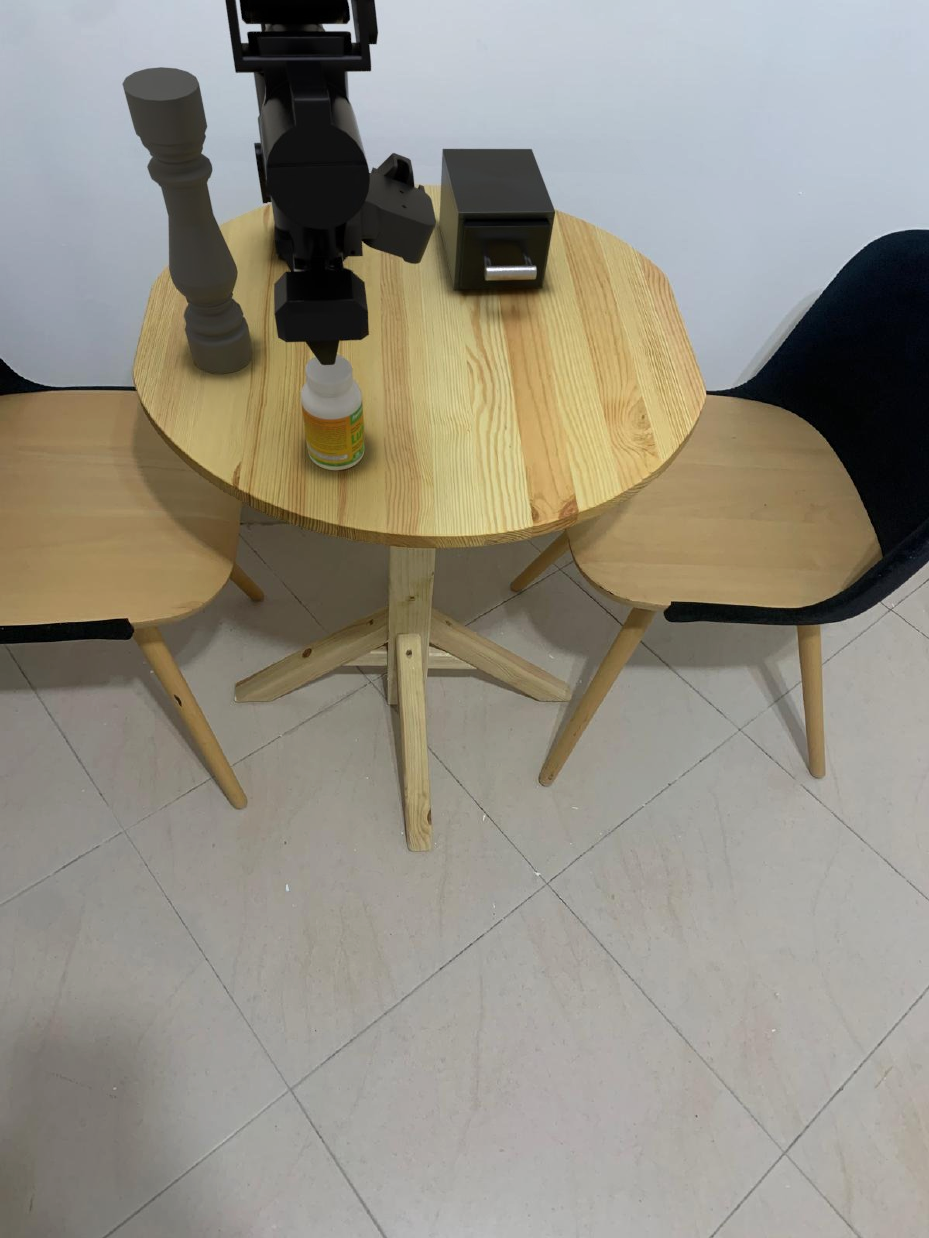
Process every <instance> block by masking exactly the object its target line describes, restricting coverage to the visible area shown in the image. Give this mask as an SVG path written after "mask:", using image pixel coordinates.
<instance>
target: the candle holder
mask: <svg viewBox="0 0 929 1238" xmlns="http://www.w3.org/2000/svg"><path fill="white" fill-rule="evenodd" d="M200 86H201V85H200V82H199V80H198V78H197V76H195V75H194V74H192V73H191V72H189V71H186V70H183V69H179V68H175V67H164V66H161V67H160V66H159V67H149V68H145V69H144V68H143V69H141V70H136V71H134V72H132V73H131V74H129V75H127V76H126V77H125V79H124V80H123V82H122V88H123V91H124V95H125V100H126V103H127V107H128V110H129V115H130V119H131V122H132V126H133V129H134V132H135V135H136V136H137V137H139V139H140V141H141V144H142V146H143V147H144V148H145V149H146V150H147V151H148V152H149V155H150V156H151V158H150V159H149V162H148V164H147V166H146V169H147V171H148V173H149V176H150V179H151V180H152V181H153V182H155V183H156V184H158V186H159V187H160V189H161V192H162V196H163V201H164V205H165V209H166V213H167V216H168V217H167V218H168V219H167V220H168V221H167V222H168V271H169V274H170V275H169V276H170V278H171V281H172V284H173V285H174V287H175V289H176V290H177V291H178V292H179V293H180V294H181V295H182V296H183V297H184V298H185V300H186V302H187V303H188V304H187V305H186V307H185V309H184V312H183V319H184V322H185V326H184V332H185V336H186V340H187V344H188V347H189V351H190V355H191V358H192V361H193V364H194V365H195V366H196V367H197V368H199V369H200V370H201V371H204V372H206V373H210V374H217V375H218V374H220V375H225V374H231V373H235V372H238V371H240V370H242V369H244V368H246V366H248V364H249V363H250V362H252V360H253V355H254V349H253V344H252V340H251V339H252V338H251V333H250V329H249V324H248V321H247V319H246V317H245V316H244V312H243V309H242V307H241V304H239V303H238V302H237V301H236V300H235V299H234V298H233V296H234V293H233V291H234V289H235V288H236V283H237V280H238V275H239V274H238V273H239V271H238V268H237V267H238V266H237V264H236V261H235V259H234V257H233V254H232V253H231V251H230V249H229V246H228V244H227V242H226V239H225V237H224V235H223V232H222V230H221V228H220V226H219V224H218V221H217V219H216V217H215V214H214V210H213V206H212V205H213V204H212V201H211V200H212V199H211V195H210V191H209V185H208V182H209V180H210V178H211V176H212V173H213V164H212V162H211V160H210V158H209V157H208V156H206V155H204V154H203V150H204V143H205V141H206V138H207V135H206V131H207V129H208V122H207V117H206V113H205V107H204V102H203V97H202V96H203V95H202V91H201V87H200Z"/></svg>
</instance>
